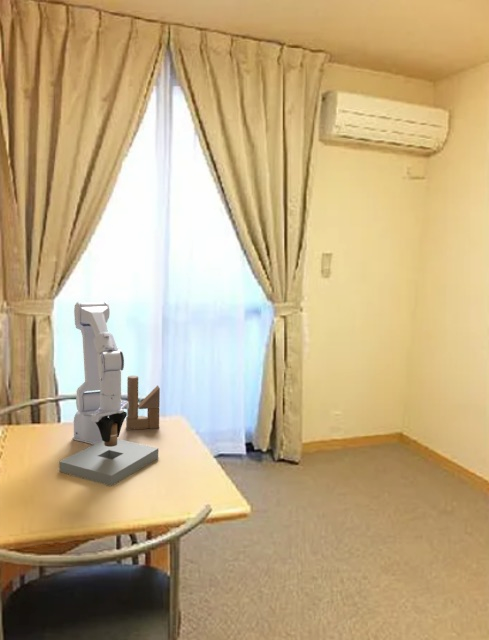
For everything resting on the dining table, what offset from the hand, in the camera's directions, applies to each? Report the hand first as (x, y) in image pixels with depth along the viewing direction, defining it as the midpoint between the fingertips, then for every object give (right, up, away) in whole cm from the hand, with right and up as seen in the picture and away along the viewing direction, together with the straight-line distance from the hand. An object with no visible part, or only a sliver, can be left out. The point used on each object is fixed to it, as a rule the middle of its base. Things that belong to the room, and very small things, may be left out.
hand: (110, 438), depth 169 cm
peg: (0, -2, 0) cm, 2 cm away
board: (0, -8, +1) cm, 8 cm away
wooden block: (+4, -3, +32) cm, 33 cm away
